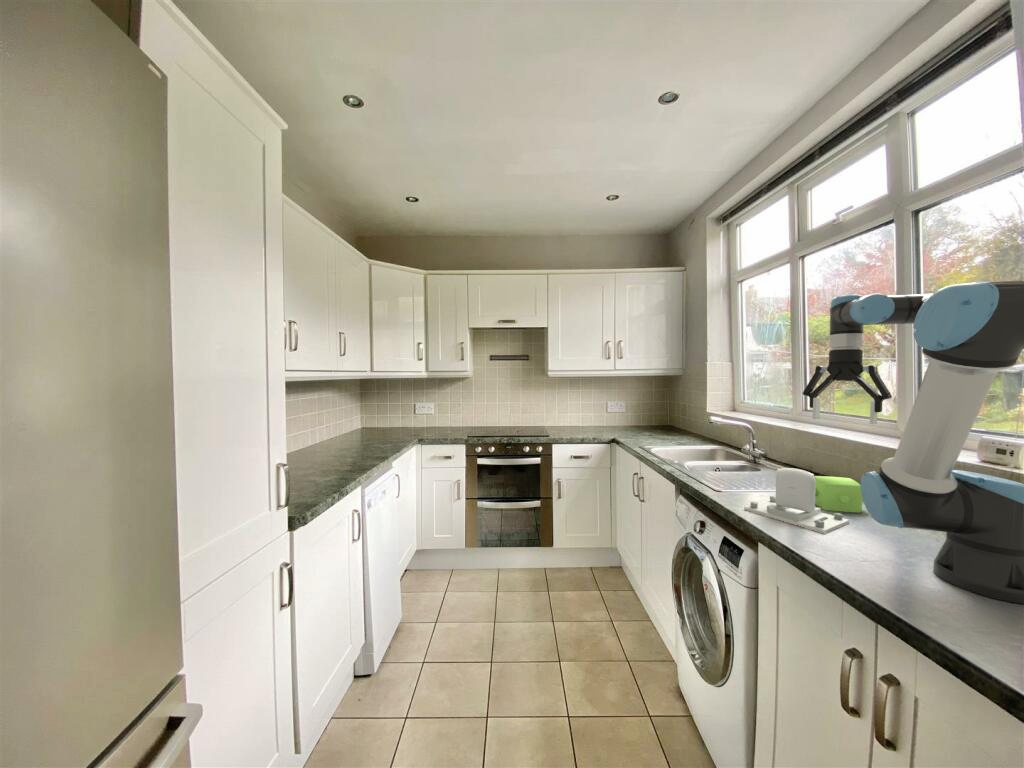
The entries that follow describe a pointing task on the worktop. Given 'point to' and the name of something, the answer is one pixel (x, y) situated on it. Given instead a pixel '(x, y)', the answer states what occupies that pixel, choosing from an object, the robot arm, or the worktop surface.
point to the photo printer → (795, 489)
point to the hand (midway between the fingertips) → (843, 421)
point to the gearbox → (838, 494)
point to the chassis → (798, 516)
